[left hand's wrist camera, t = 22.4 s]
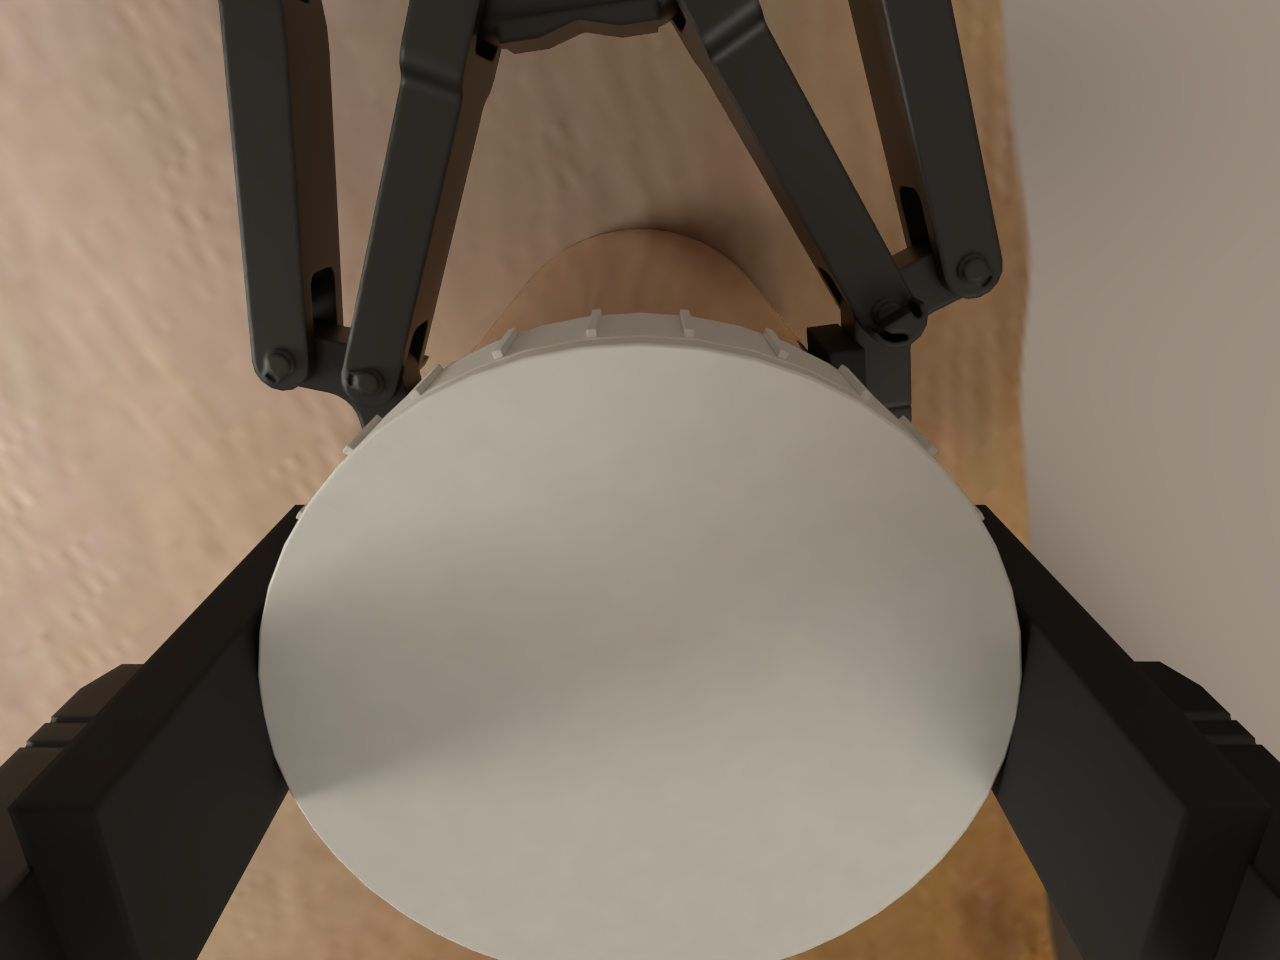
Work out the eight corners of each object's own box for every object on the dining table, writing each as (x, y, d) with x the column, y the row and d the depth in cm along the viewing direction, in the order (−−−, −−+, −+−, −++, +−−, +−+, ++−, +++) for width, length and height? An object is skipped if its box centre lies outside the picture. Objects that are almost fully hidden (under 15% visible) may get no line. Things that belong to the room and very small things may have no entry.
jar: (773, 210, 24) (970, 309, 10) (790, 491, 27) (956, 876, 13) (472, 248, 24) (234, 398, 10) (524, 520, 28) (399, 927, 13)
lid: (1028, 307, 10) (1101, 338, 9) (928, 888, 14) (967, 987, 12) (252, 306, 10) (179, 336, 9) (350, 887, 14) (312, 986, 12)
